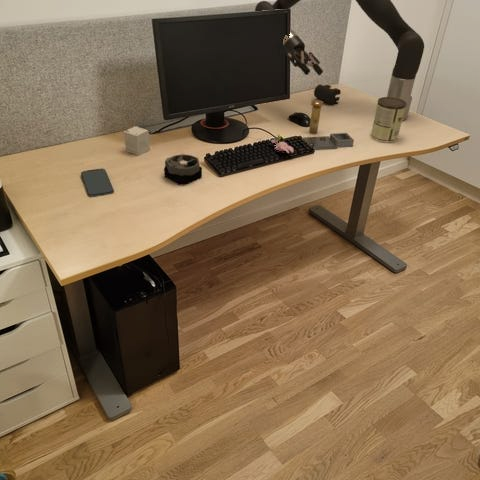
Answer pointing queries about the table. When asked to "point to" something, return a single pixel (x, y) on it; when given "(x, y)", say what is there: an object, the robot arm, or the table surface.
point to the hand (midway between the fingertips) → (314, 73)
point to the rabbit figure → (281, 145)
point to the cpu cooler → (182, 169)
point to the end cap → (327, 94)
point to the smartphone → (97, 182)
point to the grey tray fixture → (330, 141)
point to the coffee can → (388, 119)
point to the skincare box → (137, 140)
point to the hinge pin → (315, 116)
